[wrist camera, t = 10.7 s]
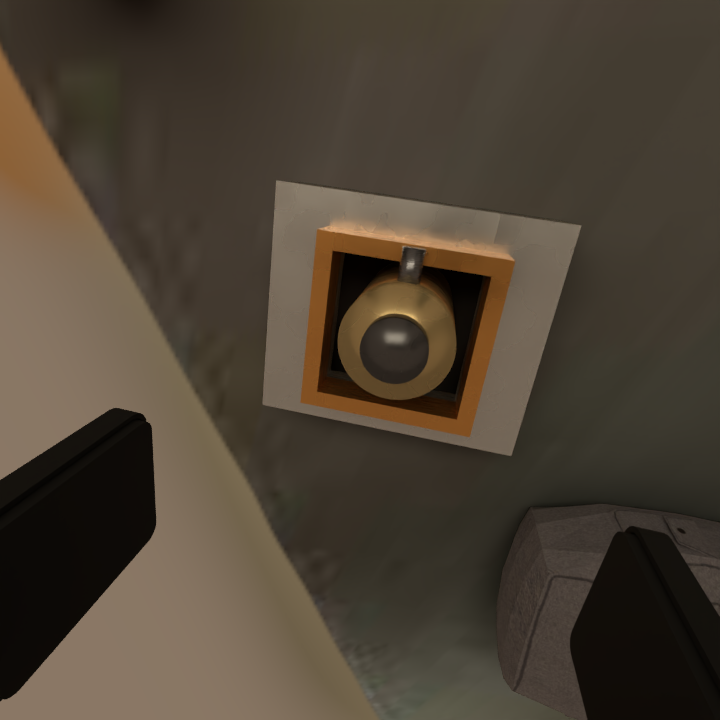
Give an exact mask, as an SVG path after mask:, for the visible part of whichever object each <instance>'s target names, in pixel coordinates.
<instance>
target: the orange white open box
mask: <svg viewBox="0 0 720 720" xmlns="http://www.w3.org/2000/svg"><path fill="white" fill-rule="evenodd" d="M580 229H581V225H577V224H573V223H569V222H565V221H560V220H554V219H547V218H541V217H534V216H527V215H520V214H514V213H507V212H500V211H493V210H487V209H480V208H473V207H466V206H459V205H453V204H446V203H439V202H432V201H426V200H419V199H412V198H405V197H399V196H392V195H385V194H378V193H372V192H365V191H358V190H351V189H345V188H338V187H331V186H324V185H317V184H311V183H304V182H293V181H278V180H276V195H275V211H274V227H273V243H272V259H271V276H270V292H269V308H268V324H267V340H266V357H265V373H264V389H263V405H266V406H271V407H276V408H281V409H286V410H291V411H295V412H300V413H305V414H310V415H315V416H320V417H324V418H329V419H334V420H339V421H344V422H349V423H353V424H358V425H363V426H368V427H373V428H378V429H382V430H387V431H392V432H397V433H402V434H407V435H411V436H416V437H421V438H426V439H431V440H436V441H440V442H445V443H450V444H455V445H460V446H465V447H469V448H474V449H479V450H484V451H489V452H494V453H498V454H503V455H508V456H511V455H512V452H513V449H514V446H515V442H516V439H517V436H518V432H519V429H520V426H521V423H522V419H523V416H524V413H525V409H526V406H527V403H528V400H529V396H530V393H531V390H532V386H533V383H534V380H535V377H536V373H537V370H538V367H539V363H540V360H541V357H542V353H543V350H544V347H545V344H546V340H547V337H548V334H549V330H550V327H551V324H552V321H553V317H554V314H555V311H556V307H557V304H558V301H559V298H560V294H561V291H562V288H563V284H564V281H565V278H566V275H567V271H568V268H569V265H570V261H571V258H572V255H573V252H574V248H575V245H576V242H577V238H578V235H579V232H580ZM403 246H415V247H420V248H424V249H426V254H425V259H424V264H423V265H424V266H430V267H436V268H442V269H448V270H454V271H460V272H467V273H473V274H479V275H483V279H482V284H481V288H480V292H479V296H478V300H477V305H476V309H475V313H474V317H473V322H472V326H471V330H470V334H469V339H468V343H467V347H466V351H465V356H464V360H463V364H462V368H461V372H460V377H459V381H458V385H457V389H456V394H452V393H447V392H442V391H437V390H431V391H430V392H428V393H426V394H424V395H422V396H419V397H416V398H412V399H406V400H392V399H385V398H382V397H378V396H376V395H373V394H371V393H369V392H367V391H366V390H364V389H363V388H361V387H360V386H359V385H358V384H356V383H355V382H354V381H353V380H352V378H351V377H350V376H349V375H348V373H344V372H339V371H334V370H331V364H332V356H333V348H334V340H335V331H336V323H337V315H338V306H339V298H340V290H341V282H342V273H343V265H344V257H345V253H351V254H357V255H363V256H369V257H375V258H381V259H387V260H393V261H400V259H401V253H402V247H403Z"/></svg>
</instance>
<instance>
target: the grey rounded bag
mask: <svg viewBox="0 0 720 720" xmlns="http://www.w3.org/2000/svg"><path fill="white" fill-rule="evenodd" d="M629 526H636V527H640V528H644V529H649V530H653V531H657V532H662V533H665V534H667V535H668V536H669V537H670V538H671V539H672V541H673V542H674V544H675V545H676V547H677V549H678V550H679V552H680V553H681V555H682V557H683V558H684V560H685V561H686V563H687V565H688V566H689V568H690V570H691V571H692V573H693V574H694V576H695V578H696V579H697V581H698V582H699V584H700V586H701V587H702V589H703V590H704V592H705V594H706V595H707V597H708V598H709V600H710V602H711V603H712V605H713V607H714V608H715V610H716V611H717V613H718V615H719V616H720V522H715V521H710V520H706V519H701V518H696V517H691V516H687V515H682V514H677V513H670V512H662V511H655V510H647V509H640V508H632V507H625V506H617V505H610V504H593V505H581V506H569V507H530V508H529V510H528V511H527V513H526V515H525V516H524V518H523V520H522V522H521V523H520V525H519V527H518V530H517V532H516V535H515V537H514V540H513V543H512V545H511V548H510V551H509V554H508V556H507V559H506V562H505V565H504V567H503V570H502V576H501V582H500V587H499V593H498V599H497V621H496V628H497V645H498V657H499V661H500V665H501V669H502V673H503V677H504V679H505V681H506V682H507V684H508V685H509V687H510V688H511V690H512V691H514V692H517V693H519V694H521V695H523V696H526V697H528V698H530V699H533V700H535V701H537V702H539V703H542V704H544V705H546V706H548V707H551V708H553V709H555V710H557V711H560V712H562V713H564V714H565V715H566V716H568V717H571V718H575V719H578V720H587V716H586V712H585V708H584V704H583V700H582V696H581V692H580V688H579V684H578V680H577V676H576V672H575V668H574V664H573V660H572V656H571V652H570V636H571V632H572V629H573V627H574V624H575V622H576V620H577V618H578V615H579V613H580V611H581V609H582V606H583V604H584V602H585V600H586V597H587V595H588V593H589V591H590V588H591V586H592V584H593V582H594V579H595V577H596V575H597V573H598V570H599V568H600V566H601V564H602V561H603V559H604V557H605V555H606V552H607V550H608V548H609V546H610V543H611V541H612V539H613V537H614V535H615V533H617V532H619V531H621V532H625V530H626V529H627V528H628V527H629Z"/></svg>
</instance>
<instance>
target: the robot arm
mask: <svg viewBox="0 0 720 720" xmlns="http://www.w3.org/2000/svg"><path fill="white" fill-rule="evenodd" d="M152 445H153V444H152V428H151V425H150V423H148V422H146V418H145V417H144V415H143V414H141V413H137V412H132V411H128V410H124V409H119V408H113V409H111V410H109V411H107V412H106V413H104V414H103V415H101V416H99V417H98V418H96V419H95V420H93V421H92V422H90V423H89V424H87V425H85V426H84V427H82V428H81V429H79V430H78V431H76V432H74V433H73V434H72V435H70V436H68V437H67V438H65V439H64V440H62V441H60V442H59V443H58V444H56V445H54V446H53V447H51V448H50V449H48V450H47V451H45V452H43V453H42V454H40V455H39V456H37V457H36V458H34V459H32V460H31V461H29V462H28V463H26V464H25V465H23V466H22V467H20V468H18V469H17V470H15V471H14V472H12V473H11V474H9V475H8V476H6V477H5V478H3V479H1V480H0V701H1V700H2V699H8V698H10V697H11V696H13V695H14V694H15V693H17V691H19V690H20V688H21V687H22V686H23V685H24V684H25V682H26V681H28V679H29V678H30V677H31V676H32V675H33V673H34V672H35V671H36V670H37V669H38V668H39V667H40V666H41V664H42V663H43V662H44V661H45V660H46V659H47V657H48V656H49V655H50V654H51V653H52V652H53V651H54V649H55V648H56V647H57V646H58V645H59V643H60V642H61V641H62V640H63V639H64V638H65V637H66V635H67V634H68V633H69V632H70V631H71V630H72V628H74V626H75V625H76V624H77V623H78V622H79V621H80V619H81V618H82V617H83V616H84V615H85V614H86V613H87V611H88V610H89V609H90V608H91V607H92V606H93V604H94V603H95V602H96V601H97V600H98V599H99V597H100V596H101V595H102V594H103V593H104V592H105V590H106V589H107V588H108V587H109V586H110V585H111V584H112V583H113V581H114V580H115V579H116V578H117V577H118V576H119V574H120V573H121V572H122V571H123V570H124V569H125V567H126V566H127V565H128V564H129V563H130V562H131V561H132V560H133V558H134V557H135V556H136V555H137V554H138V553H139V551H140V550H141V549H142V548H143V547H144V546H145V544H146V543H147V542H148V541H149V540H150V538H151V536H152V535H153V532H154V530H155V526H156V510H155V509H156V508H155V486H154V465H153V446H152ZM570 652H571V656H572V660H573V664H574V668H575V672H576V676H577V680H578V684H579V688H580V692H581V696H582V700H583V704H584V708H585V712H586V716H587V720H720V616H719V615H718V613H717V611H716V610H715V608H714V607H713V605H712V603H711V602H710V600H709V598H708V597H707V595H706V594H705V592H704V590H703V589H702V587H701V586H700V584H699V582H698V581H697V579H696V578H695V576H694V574H693V573H692V571H691V570H690V568H689V566H688V565H687V563H686V561H685V560H684V558H683V557H682V555H681V553H680V552H679V550H678V549H677V547H676V545H675V544H674V542H673V541H672V539H671V538H670V537H669V536H668V535H667V534H665V533H662V532H657V531H653V530H649V529H644V528H640V527H636V526H629V527H628V528H627V529H626V530H625V532H621V531H619V532H617V533H615V535H614V537H613V539H612V541H611V543H610V546H609V548H608V550H607V552H606V555H605V557H604V559H603V561H602V564H601V566H600V568H599V570H598V573H597V575H596V577H595V579H594V582H593V584H592V586H591V588H590V591H589V593H588V595H587V597H586V600H585V602H584V604H583V606H582V609H581V611H580V613H579V615H578V618H577V620H576V622H575V624H574V627H573V629H572V632H571V636H570Z"/></svg>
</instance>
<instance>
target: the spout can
mask: <svg viewBox="0 0 720 720" xmlns="http://www.w3.org/2000/svg"><path fill="white" fill-rule="evenodd" d="M425 254H426V249H424V248H420V247H415V246H403V247H402V253H401V259H400V261H396V262H393V263H391V264H389V265H387V266H386V267H384V268H383V269H382V270H380V271H379V272H378V273H377V275H376V276H375V277H374V278H373V279H372V281H371V282H370V283H369V284H368V286H367V287H366V288H365V289H364V291H363V292H362V293H361V294H360V296H359V297H358V298H357V299H356V301H355V302H354V303H353V304H352V305H351V307H350V308H349V309H348V311H347V312H346V314H345V315H344V317H343V319H342V322H341V324H340V327H339V332H338V352H339V356H340V359H341V362H342V364H343V366H344V368H345V370H346V372H347V373H348V375H349V376H350V377H351V378H352V380H353V381H354V382H355V383H356V384H358V385H359V386H360V387H361V388H363V389H364V390H366V391H367V392H369V393H371V394H373V395H376V396H378V397H382V398H385V399H392V400H406V399H412V398H416V397H419V396H422V395H424V394H426V393H428V392H430V391H431V390H433V389H434V388H436V387H437V386H438V385H439V384H440V383H441V382H442V381H443V380H444V379H445V377H446V376H447V374H448V373H449V371H450V369H451V367H452V365H453V362H454V359H455V355H456V331H455V319H454V308H453V297H452V291H451V288H450V285H449V283H448V281H447V279H446V278H445V276H444V275H443V274H442V273H441V272H440V271H439V270H438V269H437V268H435V267H430V266H424V265H423V264H424V259H425Z"/></svg>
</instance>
